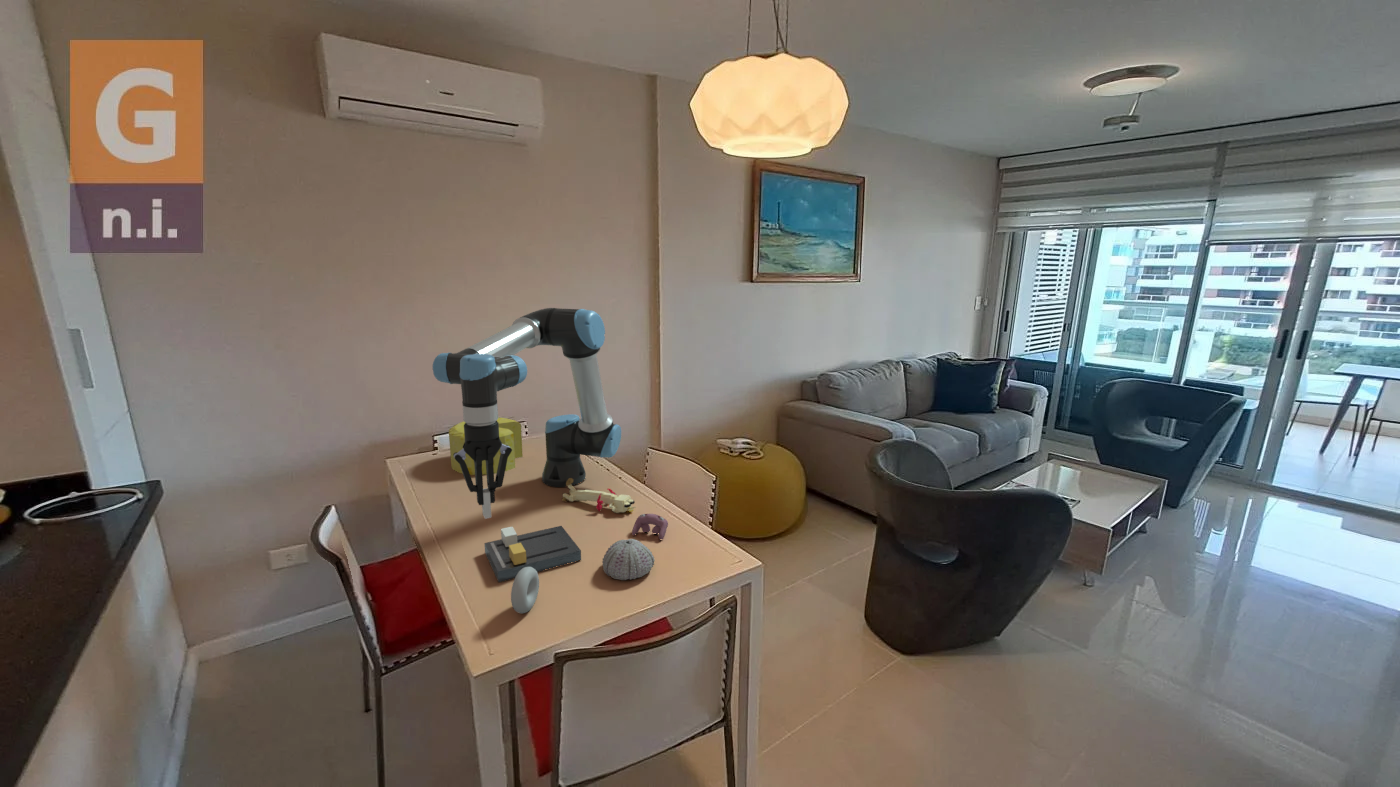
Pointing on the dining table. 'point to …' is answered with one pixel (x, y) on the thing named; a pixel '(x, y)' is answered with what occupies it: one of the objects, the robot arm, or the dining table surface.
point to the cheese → (508, 436)
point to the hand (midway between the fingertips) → (487, 515)
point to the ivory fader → (508, 536)
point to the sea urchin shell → (627, 560)
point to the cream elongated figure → (600, 498)
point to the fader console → (533, 552)
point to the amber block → (517, 553)
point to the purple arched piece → (653, 519)
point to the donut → (525, 590)
